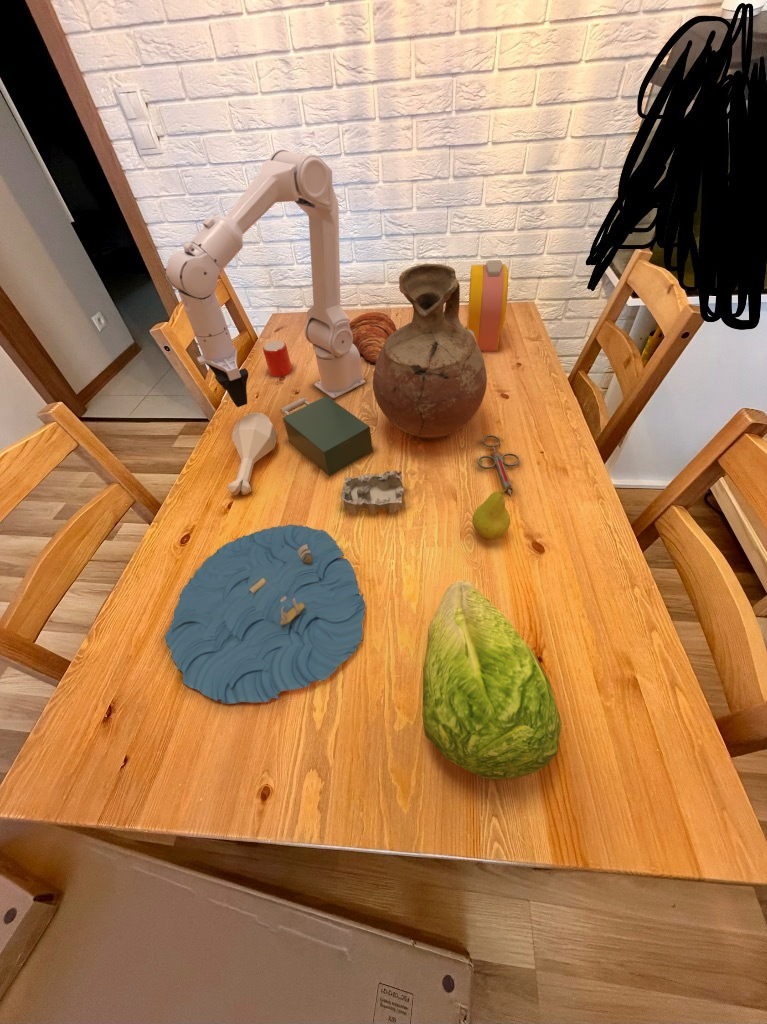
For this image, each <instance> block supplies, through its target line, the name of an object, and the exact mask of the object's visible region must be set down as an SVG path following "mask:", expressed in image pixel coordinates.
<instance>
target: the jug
mask: <svg viewBox="0 0 767 1024" xmlns="http://www.w3.org/2000/svg"><path fill="white" fill-rule="evenodd" d="M398 282H399V285H398V289H399V292H400V293H401V294H403V295H404V297H405V299H406V300H407V301H408V302H409V303H410V304H411V306H412V309H413V312H412V318H411V319H412V320H411V322H408V323H406V324H405V325H402V327H399V328H398V329H396V331H395V332H393V333H392V334H391V335H390V336H389V337H388V338H387V339H386V341H385V344H384V346H383V348H382V349H381V352H380V354H379V356H378V359H377V361H376V363H375V366H374V370H373V375H372V391H373V396H374V398H375V400H376V403H377V406H378V408H379V409H380V411H381V412H382V413H383V415H384V416H385V417H386V419H387V420H388V421H389V422H390V423H391V424H392V425H394V426H395V427H396V428H398V429H399V430H401V431H402V432H405V433H406V434H408V435H412V436H414V437H416V438H421V439H423V440H437V439H440V438H443V437H445V436H447V435H450V434H452V433H455V432H457V431H459V430H460V429H462V428H463V427H465V426H466V425H467V424H468V423H469V422H470V421H471V420H472V419H473V417H474V416H475V415H476V414H477V412H478V410H479V409H480V407H481V405H482V403H483V400H484V398H485V395H486V390H487V385H488V382H487V381H488V377H487V367H486V363H485V359H484V355H483V353H482V351H480V348H479V346H478V344H477V342H476V341H475V339H474V337H473V335H472V334H471V333H470V332H469V331H468V330H467V327H465V326H463V324H462V323H461V320H460V317H459V314H460V302H461V301H460V299H461V291H460V290H461V285H460V283H459V280H458V279H457V276H456V270H455V268H454V267H451V266H449V265H446V264H442V263H421V264H416V265H413V266H410V267H409V268H407V269H405V270H404V271H402V272H401V274H400V275H399V277H398Z"/></svg>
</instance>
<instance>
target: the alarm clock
mask: <svg viewBox="0 0 767 1024" xmlns="http://www.w3.org/2000/svg"><path fill="white" fill-rule="evenodd" d="M469 278H470V279H469V291H468V292H469V293H468V307H467V308H468V309H467V324H466V329H468V330H471V331H472V332H473V333H474V336H475V338H476V342H477V344H478V346H479V348H480V351H481V352H498V351H499V343H500V337H501V336H500V335H501V332H502V330H503V329H504V326H505V320H506V313H507V304H508V296H509V295H508V293H509V269H508V266H507V264H506V263H503V261H501V260H500V259H496V260H494V259H492V260H487V261H486V263H485V264H471V266H470V277H469Z"/></svg>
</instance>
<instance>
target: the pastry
mask: <svg viewBox="0 0 767 1024" xmlns="http://www.w3.org/2000/svg"><path fill="white" fill-rule="evenodd" d="M350 329H351V331H352V334H353V344H354V345H355V346H356V348H357V349H358V352H359V354H360V355H361V356H363V357H364V359H365V360H367V361H368V362H370V363H373V364H376V361H377V359H378V356H379V354H380V352H381V349H382V348H383V346H384V344H385V341H386V339H387V338H388V337H389V336H390V335H391V334H392V333H393V332H395V331H396V330H397V326H396V324H395V322H394V321H393V319H392V318H390V317H389V316H388V314H386V313H383V312H380V311H379V312H378V311H371V312H366V313H363V314H360V315H359V316H357V317H355V318H354V319H352V320H351V321H350Z"/></svg>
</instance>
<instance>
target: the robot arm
mask: <svg viewBox="0 0 767 1024" xmlns="http://www.w3.org/2000/svg"><path fill="white" fill-rule="evenodd" d="M260 167H261V168H260V170H259V173H258V174H257V176H256V177H255V178H254V179H253V181H252V182H251V183H250V185H248V187H247V189H245V191H244V192H243V193H242V195H241V196H240V197H239V198H238V200H237V201H236V203H235V204H234V205H233V206H232V208H230V210H229V211H228V213H227V214H226V216H220V215H213V216H212V218H210V217H206V218H205V219H204V220H203V221H202V225H203V228H202V229H201V230H200V231H199V232H198V233H197V234H196V235H195V237H194V238H193V239H192V240H191V241H190V242H189V241H187V242H185V244H183V249H184V251H179V252H178V251H177V252H174V253H173V254H172V255H170V257H169V258H168V260H167V262H166V265H167V266H166V268H165V269H166V274H165V279H166V281H167V282H168V283H169V285H171V286H172V287H173V288H174V289H176V290H177V293H178V295H179V298H180V299H181V303H182V305H183V308H184V311H185V314H186V316H187V318H188V322H189V323H190V326H191V328H192V331H193V334H194V335H195V339H196V341H197V344H198V346H199V349H200V352H201V353H202V355H200V356H197V358H196V359H197V362H198V363H199V365H201V366H203V365H207V367H208V368H209V369H210V371H212V372H213V374H214V375H215V377H214V378H215V380H216V381H217V383H218V384H219V385H220V386H221V387H222V389H224V390H226V393H227V394H228V395H229V397H230V399H231V400H232V403H234V405H235V407H236V408H240V407H243V406H245V405H247V404H248V393H247V384H248V383H247V382H248V379H249V371H248V370H247V369H246V367H244V368H241V369H239V367H238V350H237V348H236V346H235V345H234V342H233V339H232V336H231V333H230V329H229V328H228V324H227V321H226V319H225V316H224V313H223V309H222V307H221V303H220V301H219V300H220V299H219V298H218V295H217V293H216V290H217V287H218V284H219V283H218V281H219V280H218V279H219V276H220V275H221V273H222V272H223V270H225V268H226V267H227V266H228V265H229V263H230V262H231V261H232V260H234V258H235V257H236V256H237V255H238V253H240V251H241V250H242V249H243V247H244V234H246V232H248V230H250V228H252V226H253V225H255V224H256V223H257V221H259V220H260V219H261V218H262V217H263V216H264V215H265V214H266V213H267V212H268V211H269V210H270V209H271V208H272V207H273V206H274V205H275V204H276V203H287V202H294V203H295V204H296V205H297V206H298V207H299V208H300V209H301V210H302V211H303V212H304V213H305V214H306V215H307V216H308V227H309V245H310V246H309V247H310V262H311V263H310V265H311V283H312V285H311V286H312V300H313V303H312V304H313V305H312V306H311V307H310V308H308V310H307V311H306V313H307V314H306V315H307V318H306V323H305V327H304V335H305V338H306V340H307V341H308V343H309V344H312V348H313V350H314V354H315V358H316V362H317V369H318V374H319V379H320V380H318V381H316V382H315V383H314V384H313V386H314V387H315V388H317V389H318V390H320V392H322V393H324V394H325V395H326V396H327V397H329V398H330V399H332V400H333V399H336V398H339V397H340V396H342V395H344V394H346V393H348V392H350V391H352V390H354V389H356V388H357V387H360V386H362V385H364V384H365V383H366V380H365V379H364V375H363V367H362V359H361V354H360V353H359V352H358V349H357V348H356V346H355V345H354V344H353V334H352V331H351V329H350V322H351V321H350V318H349V316H348V315H347V313H346V311H345V310H344V309H343V307H342V306H341V271H340V270H341V268H340V267H341V266H340V263H341V262H340V261H341V260H340V214H339V213H340V212H339V211H340V210H339V208H340V207H339V201H338V198H337V194H336V192H335V190H334V187H333V170H332V169H331V167H330V166H329V165H328V164H327V163H326V162H325V160H324V159H322V158H321V156H319V155H316V154H312V153H311V154H305V153H298V152H292V151H289V150H286V149H278V150H276V151H274V152H273V153H272V154H271V156H270V157H269V159H266V160H265V161H264V162H262V164H261V166H260Z"/></svg>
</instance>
